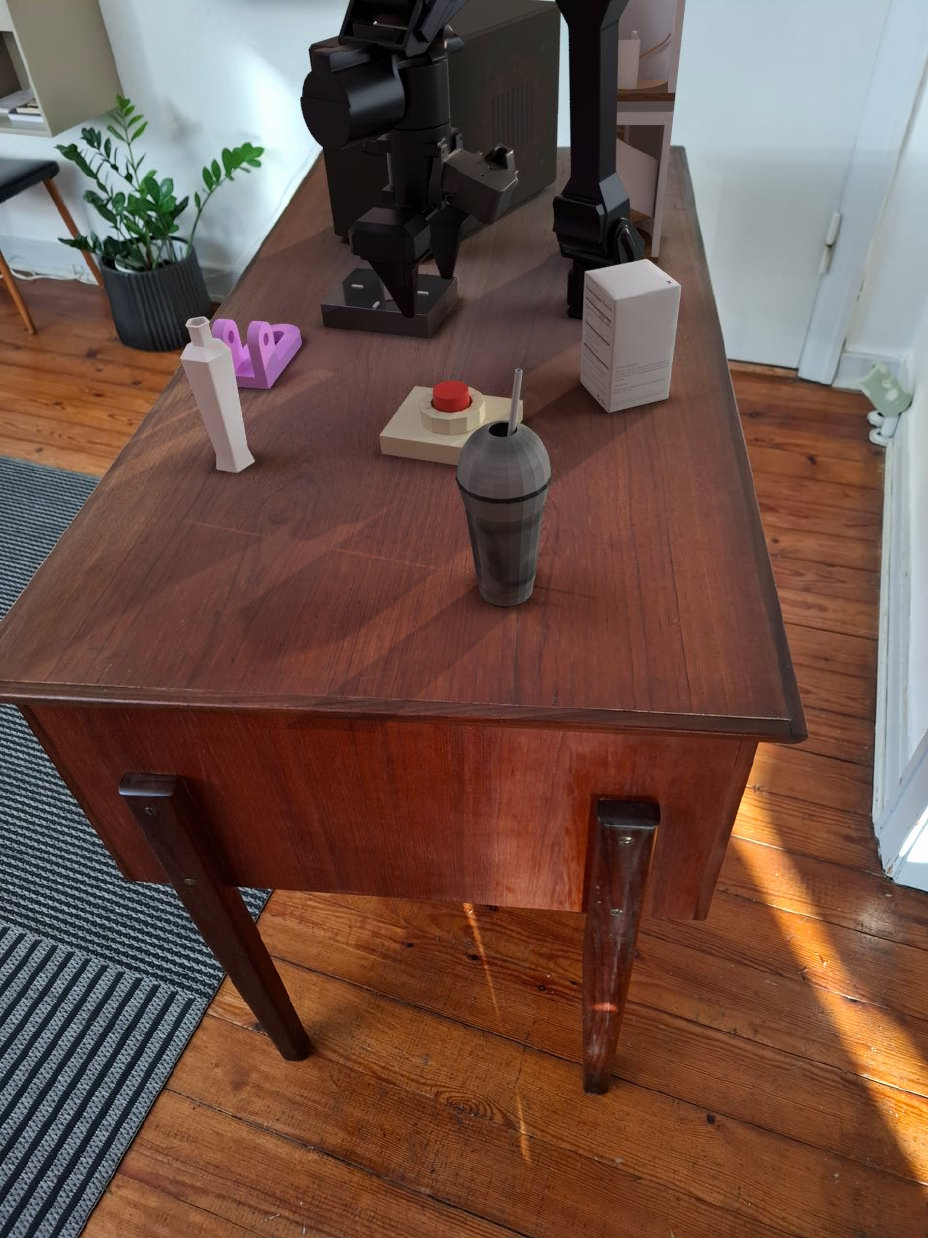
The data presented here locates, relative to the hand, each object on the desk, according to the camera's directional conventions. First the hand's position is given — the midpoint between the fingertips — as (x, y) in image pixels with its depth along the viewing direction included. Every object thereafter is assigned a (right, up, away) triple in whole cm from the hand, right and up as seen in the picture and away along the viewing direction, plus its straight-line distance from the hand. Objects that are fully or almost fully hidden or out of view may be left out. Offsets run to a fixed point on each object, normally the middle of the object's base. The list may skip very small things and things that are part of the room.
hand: (429, 297), depth 87 cm
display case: (+25, +19, +36) cm, 48 cm away
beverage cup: (+7, -29, -12) cm, 32 cm away
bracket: (-20, -1, +19) cm, 27 cm away
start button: (+2, -10, +2) cm, 10 cm away
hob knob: (-6, +10, +24) cm, 27 cm away
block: (+2, -13, +5) cm, 14 cm away
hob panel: (-6, +7, +26) cm, 28 cm away
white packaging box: (+21, -7, +10) cm, 24 cm away
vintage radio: (+1, +32, +51) cm, 60 cm away
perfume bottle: (-20, -16, +4) cm, 25 cm away
